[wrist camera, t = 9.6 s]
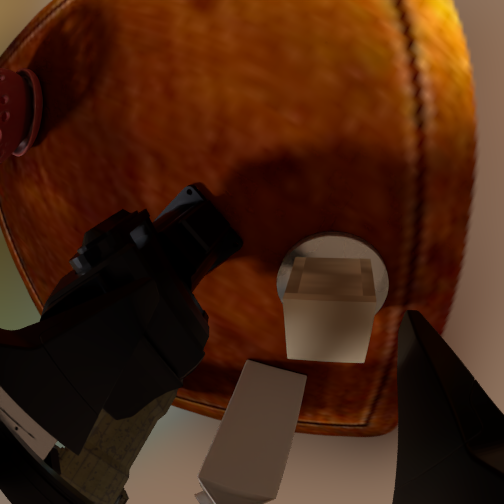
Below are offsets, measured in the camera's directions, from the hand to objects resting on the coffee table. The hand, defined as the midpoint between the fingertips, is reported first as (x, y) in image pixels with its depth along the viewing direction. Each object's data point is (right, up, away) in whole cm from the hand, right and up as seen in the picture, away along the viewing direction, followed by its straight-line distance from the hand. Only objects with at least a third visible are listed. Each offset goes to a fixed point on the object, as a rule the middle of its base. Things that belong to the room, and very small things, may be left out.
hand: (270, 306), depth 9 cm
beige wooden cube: (+6, -1, +12) cm, 13 cm away
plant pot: (-29, +20, +13) cm, 37 cm away
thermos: (-15, -16, +29) cm, 36 cm away
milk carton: (+2, -14, +22) cm, 26 cm away
